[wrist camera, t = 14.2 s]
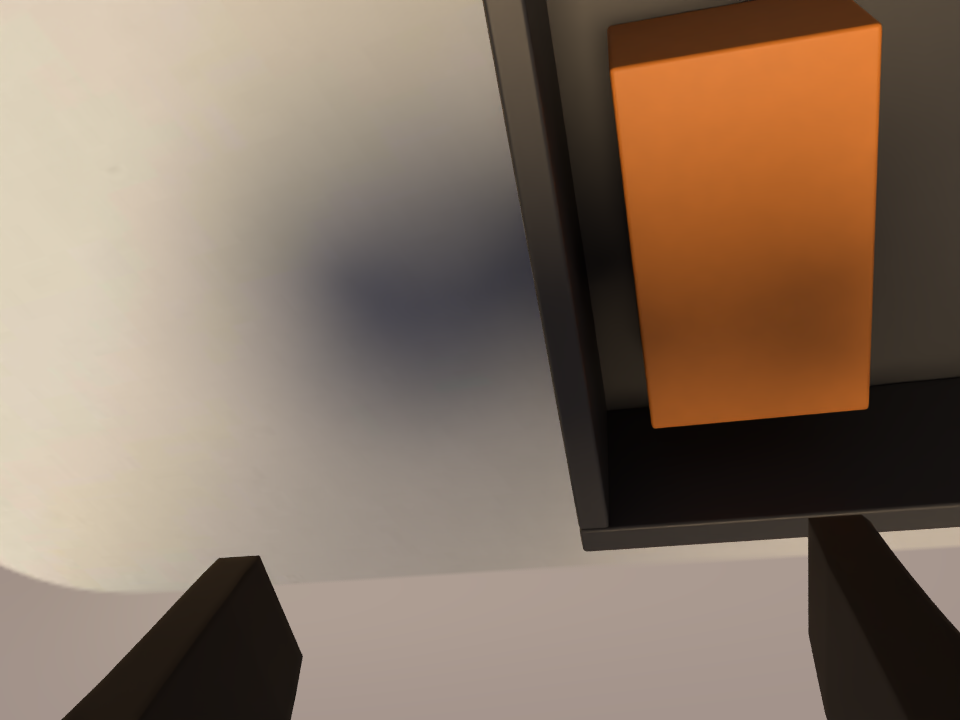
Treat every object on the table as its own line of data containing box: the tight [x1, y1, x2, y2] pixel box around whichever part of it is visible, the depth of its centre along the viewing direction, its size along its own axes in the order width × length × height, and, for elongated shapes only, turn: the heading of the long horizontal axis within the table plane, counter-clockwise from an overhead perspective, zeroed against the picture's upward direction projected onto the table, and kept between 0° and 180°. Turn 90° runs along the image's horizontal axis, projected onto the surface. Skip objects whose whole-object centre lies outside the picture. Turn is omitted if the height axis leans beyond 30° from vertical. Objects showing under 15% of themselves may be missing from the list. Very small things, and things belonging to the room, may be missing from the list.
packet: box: [607, 0, 882, 428], centre depth 17 cm, size 4×7×3 cm, turn 11°
